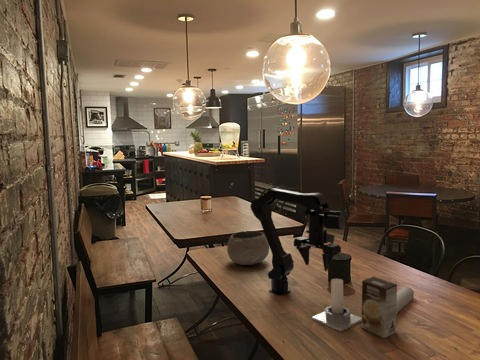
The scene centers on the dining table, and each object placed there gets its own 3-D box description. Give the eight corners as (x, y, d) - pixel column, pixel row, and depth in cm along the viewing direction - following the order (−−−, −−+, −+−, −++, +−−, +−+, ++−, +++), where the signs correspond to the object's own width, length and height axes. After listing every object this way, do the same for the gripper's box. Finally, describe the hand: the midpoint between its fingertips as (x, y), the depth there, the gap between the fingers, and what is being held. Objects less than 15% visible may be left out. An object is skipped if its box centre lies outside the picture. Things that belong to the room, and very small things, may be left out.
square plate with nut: (312, 319, 136) (312, 309, 136) (334, 309, 144) (334, 300, 143) (341, 332, 127) (341, 322, 126) (362, 320, 134) (363, 311, 134)
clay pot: (237, 273, 184) (237, 241, 182) (221, 260, 203) (220, 231, 201) (277, 266, 192) (277, 236, 191) (258, 255, 211) (257, 227, 210)
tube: (400, 285, 155) (375, 305, 136) (413, 283, 152) (390, 304, 133) (404, 298, 155) (379, 321, 136) (418, 297, 151) (394, 320, 132)
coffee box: (360, 327, 130) (360, 280, 128) (372, 322, 133) (373, 275, 132) (384, 338, 122) (385, 288, 120) (396, 332, 126) (398, 283, 124)
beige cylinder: (329, 318, 134) (329, 281, 133) (333, 314, 138) (332, 277, 136) (341, 321, 132) (341, 283, 131) (344, 316, 136) (344, 279, 135)
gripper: (350, 227, 146) (350, 268, 147) (311, 220, 160) (312, 258, 162) (331, 232, 139) (331, 275, 140) (292, 224, 153) (292, 263, 155)
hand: (316, 267), depth 150 cm, fingers open, 9 cm apart
